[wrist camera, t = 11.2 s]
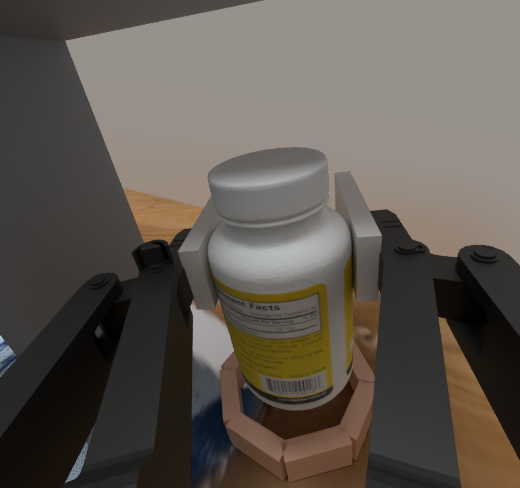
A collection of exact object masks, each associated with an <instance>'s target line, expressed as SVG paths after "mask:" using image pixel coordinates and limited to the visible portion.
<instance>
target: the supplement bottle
mask: <svg viewBox="0 0 520 488" xmlns="http://www.w3.org/2000/svg"><path fill="white" fill-rule="evenodd" d="M208 182H209V186H210V191H211V196H212V201H213V206H214V209H215V210H216V215H217V217H218V218H219V219H220V220H221V221H222V222H221V223H220V224H219V225H218V226H217V227H216V229H215V230H214V232H213V233H212V235H211V237H210V240H209V243H208V260H209V264H210V269H211V273H212V276H213V279H214V283H215V286H216V289H217V293H218V296H219V300H220V303H221V307H222V310H223V313H224V317H225V320H226V324H227V327H228V331H229V334H230V337H231V341H232V344H233V348H234V351H235V355H236V358H237V361H238V364H239V367H240V370H241V373H242V376H243V378H244V381H245V383H246V384H247V386H248V387H249V389H250V390H251V391H252V392H253V393H254V394H255V395H256V396H257V397H258V398H259V399H261V400H262V401H263V402H265V403H267V404H269V405H271V406H273V407H277V408H280V409H284V410H293V411H294V410H308V409H312V408H316V407H318V406H321V405H323V404H325V403H327V402H329V401H330V400H332V399H333V398H334V397H336V396H337V395H338V394H339V393H340V392H341V391H342V389H343V388H344V387H345V385H346V384H347V382H348V380H349V378H350V375H351V372H352V367H353V272H352V268H353V262H352V239H351V233H350V229H349V226H348V224H347V223H346V221H345V220H344V218H343V217H342V216H341V215H340V214H339V213H338V212H336V211H335V210H333V209H332V208H330V207H328V206H326V204H327V202H328V200H329V176H328V162H327V158H326V156H325V154H323V153H322V152H320V151H318V150H314V149H310V148H299V147H298V148H296V147H295V148H276V149H268V150H263V151H257V152H252V153H248V154H245V155H241V156H238V157H234V158H232V159H229V160H227V161H225V162H223V163H221V164H219V165H217V166H216V167H214V168H213V169H212V170H211V171H210V172H209V174H208Z"/></svg>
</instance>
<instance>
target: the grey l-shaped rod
mask: <svg viewBox="0 0 520 488" xmlns="http://www.w3.org/2000/svg"><path fill="white" fill-rule="evenodd" d="M257 1H262V0H0V335H1V337H2V338H3V339H4V340H5V342H6V343H7V344H8V345H9V347H10V348H11V349H12V350H13V351H14V353H15V354H16V355H17V356H18V357H19V356H20V355H21V354H22V353H23V351H24V350H25V349H26V348H27V347H28V346H29V345H30V344H31V342H32V341H33V340H34V339H35V338H36V337H37V336H38V334H39V333H40V332H41V331H42V330H43V329H44V328H45V327H46V325H47V324H48V323H49V322H50V321H51V320H52V319H53V318H54V316H55V315H56V314H57V313H58V312H59V311H60V310H61V308H62V307H63V306H64V305H65V304H66V303H67V302H68V301H69V299H70V298H71V297H72V296H73V295H74V294H75V293H76V292H77V290H78V289H79V288H80V287H81V286H82V285H83V284H84V283H85V282H86V281H87V280H89V279H91V278H92V277H93V276H96V275H98V274H102V273H115V274H117V276H118V278H119V280H120V282H121V281H125V280H129V279H133V278H136V277H138V275H139V270H138V267H137V265H136V263H135V260H134V258H133V256H132V251H133V250H134V249H135V248H136V247H138V246H139V245H141V244H143V243H144V242H143V239H142V237H141V234H140V231H139V229H138V226H137V224H136V221H135V219H134V216H133V214H132V211H131V208H130V206H129V203H128V201H127V198H126V196H125V193H124V191H123V188H122V185H121V183H120V180H119V178H118V176H117V173H116V170H115V168H114V165H113V163H112V160H111V157H110V155H109V152H108V150H107V147H106V145H105V142H104V139H103V137H102V134H101V132H100V130H99V127H98V124H97V122H96V119H95V116H94V114H93V112H92V109H91V106H90V104H89V101H88V99H87V96H86V94H85V91H84V88H83V86H82V83H81V81H80V78H79V76H78V73H77V71H76V68H75V65H74V63H73V60H72V58H71V56H70V53H69V50H68V48H67V45H66V42H65V40H70V39H75V38H80V37H85V36H90V35H95V34H100V33H105V32H110V31H114V30H120V29H124V28H129V27H134V26H139V25H144V24H149V23H154V22H159V21H163V20H169V19H173V18H179V17H183V16H188V15H193V14H198V13H203V12H208V11H213V10H218V9H223V8H228V7H233V6H238V5H242V4H247V3H252V2H257ZM95 334H96V336H97V337H99V336H100V335H101V334H102V330H101V329H100V327H99V325H98V327H97V329H96V331H95ZM94 427H95V425H94ZM94 427H93V429H92V431H91V433H90V435H89V437H88V439H87V440H86V442H87V444H88V445H89V444H90V441H91V437H92V434H93V430H94Z"/></svg>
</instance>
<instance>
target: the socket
mask: <svg viewBox="0 0 520 488" xmlns="http://www.w3.org/2000/svg"><path fill="white" fill-rule="evenodd" d="M221 367H222V370H220V382H221V396H222V410H223V422H224V424H225V427H226V430H227V433H228V435H229V438H230V441H231V442H232V444H233V446H235V447H236V448H237V449H239V450H240V451H242V452H243V453H244V454H246V455H247V456H249V457H250V458H251V459H253V460H254V461H256V462H257V463H258V464H260V465H261V466H263V467H264V468H265V469H267V470H268V471H270V472H271V473H272V474H274V475H275V476H276V477H278V478H279V479H281V480H282V481H284V479H285V477H286V475H288V480H289V482H292V481H296V480H299V479H303V478H306V477H310V476H314V475H317V474H321V473H324V472H328V471H331V470H335V469H338V468H342V467H345V466H349V465H352V458H353V459H354V460H356V461H357V458H358V455H359V453H360V450H361V447H362V445H363V442H364V439H365V437H366V434H367V431H368V429H369V426H370V423H371V419H372V407H373V394H374V381H375V375H374V373H373V372H372V370H371V368H370V367H369V365H368V363H367V361H366V360H365V358H364V356H363V355H362V353H361V351H360V349H359V348H358V346H357V344H356V343H355V341H354V339H353V367H352V372H351V375H350V378H349V380H348V381H349V383H350V385H351V387H352V389H353V391H354V394H353V396H352V398H351V401H350V403H349V405H348V407H347V410H346V412H345V414H344V416H343V418H342V421H341V423H340V425H339V426H335V427H331V428H328V429H324V430H320V431H317V432H313V433H309V434H306V435H302V436H298V437H295V438H291V439H287V440H284V439H282V438H281V437H279V436H278V435H276V434H274V433H273V432H271V431H270V430H268V429H266V428H265V427H263V426H262V425H260V424H258V423H257V422H255V421H254V420H252V419H250V418H249V417H247V416H246V415H244V409H243V401H242V394H241V388H242V387H243V385H244V384H245V381H244V378H243V376H242V373H241V370H240V367H239V364H238V361H237V358H236V355H235V351H234V352H233V353H232V354H231V355H230V357H229V358H228V359H227V360H226V361H225V362H224V363H223V365H222V366H221Z"/></svg>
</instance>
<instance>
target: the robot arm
mask: <svg viewBox="0 0 520 488" xmlns="http://www.w3.org/2000/svg"><path fill="white" fill-rule="evenodd" d="M335 205H336V212H338V213H339V214H340V215H341V216H342V217H343V218H344V220H345V221H346V223H347V224H348V226H349V229H350V233H351V239H352V262H353V268H352V272H353V289H354V293H355V297H356V301H357V302H358V301H378V296H379V291H380V293H381V304H380V317H379V330H378V342H377V355H376V368H375V381H374V394H373V407H372V419H371V432H370V445H369V458H368V467H367V478H366V488H461V483H460V477H459V469H458V462H457V454H456V447H455V439H454V432H453V424H452V417H451V409H450V402H449V394H448V387H447V379H446V372H445V364H444V357H443V349H442V342H441V334H440V327H439V319H438V317H442V318H446V321H447V323H448V325H449V327H450V329H451V331H452V333H453V335H454V337H455V339H456V340H457V342H458V344H459V346H460V348H461V350H462V352H463V354H464V356H465V357H466V359H467V361H468V363H469V365H470V367H471V369H472V371H473V373H474V375H475V376H476V378H477V380H478V382H479V384H480V386H481V388H482V390H483V392H484V394H485V395H486V397H487V399H488V401H489V403H490V405H491V407H492V409H493V411H494V412H495V414H496V416H497V418H498V420H499V422H500V424H501V426H502V428H503V430H504V431H505V433H506V435H507V437H508V439H509V441H510V443H511V445H512V447H513V448H514V450H515V452H516V454H517V456H518V458H519V460H520V266H519V264H518V263H517V262H516V261H515V260H514V259H513V258H512V257H511V256H510V255H508V254H507V253H505V252H504V251H502V250H500V249H497V248H494V247H491V246H487V245H471V246H465V247H464V248H462V249H460V251H459V253H458V257H448V256H439V255H434V254H430V252H429V249H428V248H427V246H425V245H424V244H423V243H421V242H418V241H415V240H412V239H411V237H410V236H409V234H408V233H407V231H406V229H405V228H404V227H403V225H402V223H401V222H400V220H399V219H398V217H397V216H396V214H394V213H392V212H391V211H389V210H376V211H369V209H368V207H367V205H366V203H365V201H364V199H363V197H362V194H361V193H360V190H359V188H358V186H357V184H356V182H355V180H354V178H353V177H352V175H351V172H340V173H335ZM221 222H222V221H221V220H220V219H219V218H218V217H217V215H216V210H215V209H214V206H213V201H212V196H211V198H210V199H209V200H208V202H207V204H206V206H205V207H204V209H203V210H202V212H201V214H200V216H199V217H198V219H197V221H196V222H195V224H194V226H193V227H192V228H190V229H183V230H182V231H181V232H179V233H178V234H177V235H176V236H175V238H174V239H173V241H172V242H171V244H170V245H168V242H167V241H165V240H152V241H149V242H145V243H143V244H141V245H139V246H138V247H136V248H135V249H134V250H133V251H132V256H133V258H134V260H135V263H136V265H137V267H138V270H139V275H138V277H136V278H133V279H129V280H125V281H121V282H120V280H119V278H118V276H117V274H115V273H102V274H98V275H96V276H93V277H92V278H91V279H89V280H87V281H86V282H85V283H84V284H83V285H82V286H81V287H80V288H79V289H78V290H77V292H76V293H75V294H74V295H73V296H72V297H71V298H70V299H69V301H68V302H67V303H66V304H65V305H64V306H63V307H62V308H61V310H60V311H59V312H58V313H57V314H56V315H55V316H54V318H53V319H52V320H51V321H50V322H49V323H48V324H47V325H46V327H45V328H44V329H43V330H42V331H41V332H40V333H39V334H38V336H37V337H36V338H35V339H34V340H33V341H32V342H31V344H30V345H29V346H28V347H27V348H26V349H25V350H24V351H23V353H22V354H21V355H20V356H19V357H18V358H17V359H16V361H15V362H14V363H13V364H12V365H11V366H10V367H9V368H8V370H7V371H6V372H5V373H4V374H3V375H2V376H1V377H0V488H191V418H192V345H193V315H192V311H191V308H190V305H191V303H192V301H193V299H194V302H195V305H196V308H197V309H215V308H216V304H217V301H218V298H219V296H218V293H217V289H216V286H215V283H214V279H213V276H212V273H211V269H210V264H209V260H208V243H209V240H210V237H211V235H212V233H213V232H214V230H215V229H216V227H217V226H218V225H219V224H220V223H221ZM98 325H99V327H100V329H101V330H102V334H101V335H100V336H99V337H97V336H96V334H95V331H96V329H97V327H98ZM94 425H95V427H94ZM93 427H94V430H93V434H92V437H91V441H90V444H89V448H88V451H87V454H86V458H85V461H84V465H83V468H82V470H81V473H80V474H79V476H78V477H77V478H76V479H74V480H72V481H69V482H67V483H65V482H66V480H67V478H68V476H69V474H70V472H71V470H72V468H73V466H74V464H75V462H76V460H77V458H78V456H79V454H80V452H81V450H82V448H83V446H84V444H85V442H86V440H87V439H88V437H89V435H90V433H91V431H92V429H93ZM64 483H65V484H64Z"/></svg>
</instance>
